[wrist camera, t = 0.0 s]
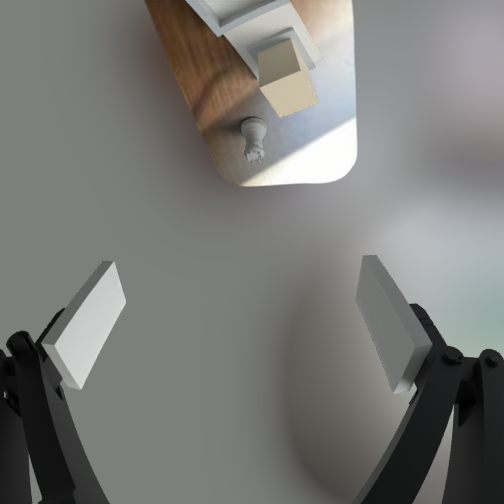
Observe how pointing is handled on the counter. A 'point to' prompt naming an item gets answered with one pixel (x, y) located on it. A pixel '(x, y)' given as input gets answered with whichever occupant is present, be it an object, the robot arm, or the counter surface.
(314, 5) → the counter surface
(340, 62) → the counter surface
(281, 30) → the white tray base
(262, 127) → the rook chess piece
